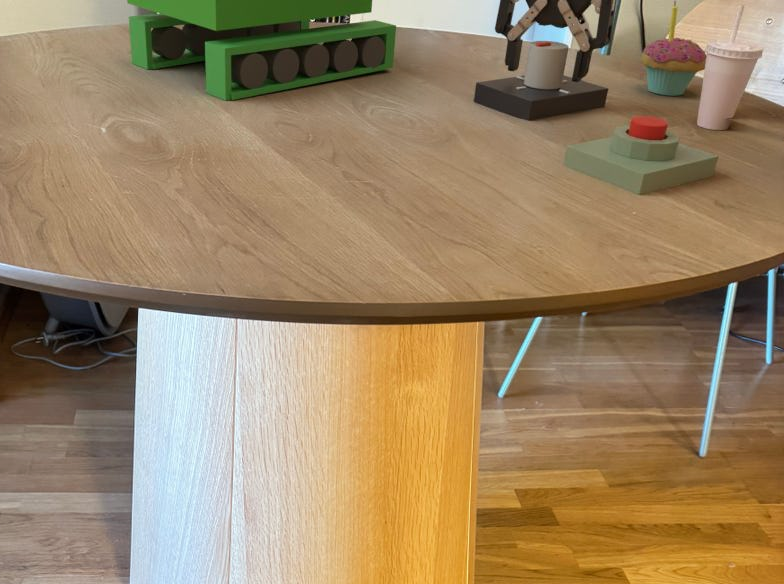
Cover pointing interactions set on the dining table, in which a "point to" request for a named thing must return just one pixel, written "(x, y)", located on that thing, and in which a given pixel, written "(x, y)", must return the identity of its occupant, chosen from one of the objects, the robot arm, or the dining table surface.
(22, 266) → the dining table surface
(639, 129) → the power button
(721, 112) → the smoothie
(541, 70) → the timer dial
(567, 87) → the timer panel
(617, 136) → the switch block
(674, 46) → the cupcake
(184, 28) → the tank
